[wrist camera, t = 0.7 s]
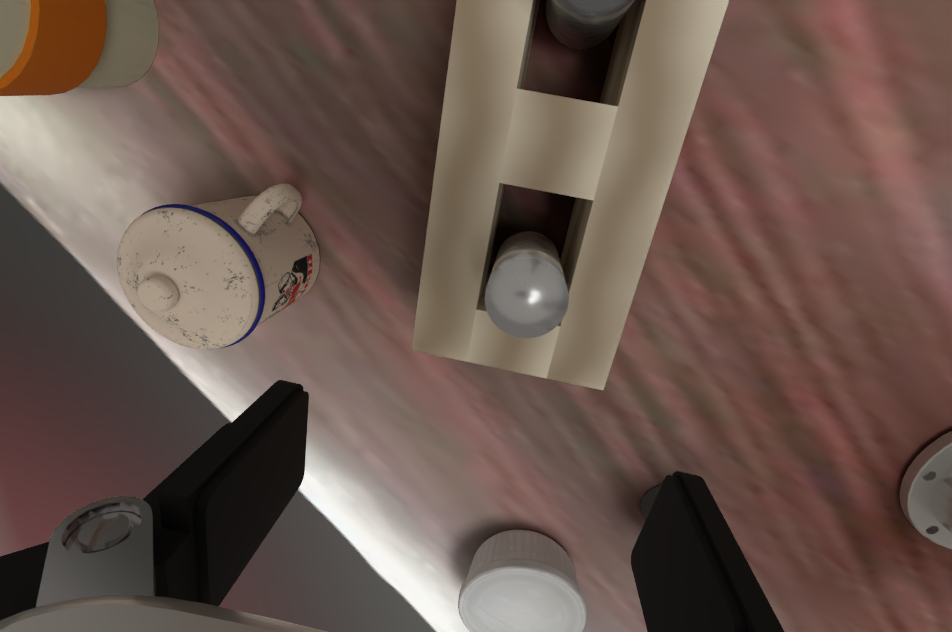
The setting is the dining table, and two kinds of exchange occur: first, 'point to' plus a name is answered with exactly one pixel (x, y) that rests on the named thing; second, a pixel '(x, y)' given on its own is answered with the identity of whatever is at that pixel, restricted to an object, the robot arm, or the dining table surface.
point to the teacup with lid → (218, 265)
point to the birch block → (556, 177)
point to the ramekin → (521, 587)
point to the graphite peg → (584, 20)
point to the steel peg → (527, 286)
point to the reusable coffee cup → (74, 44)
